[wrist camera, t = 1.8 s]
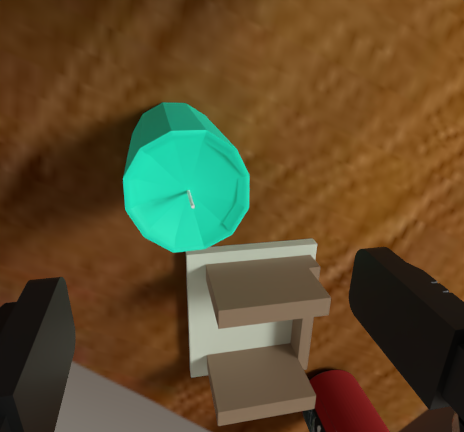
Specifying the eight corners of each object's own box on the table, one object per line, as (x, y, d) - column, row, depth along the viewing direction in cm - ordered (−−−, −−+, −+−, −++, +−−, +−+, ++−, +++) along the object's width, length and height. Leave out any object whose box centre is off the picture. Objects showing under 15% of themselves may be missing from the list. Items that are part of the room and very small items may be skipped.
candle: (203, 192, 28) (237, 277, 17) (123, 174, 26) (106, 256, 16) (226, 115, 26) (280, 157, 15) (141, 89, 24) (136, 116, 14)
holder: (185, 249, 30) (195, 300, 23) (312, 238, 32) (352, 283, 26) (189, 369, 35) (199, 438, 29) (298, 353, 37) (329, 414, 31)
